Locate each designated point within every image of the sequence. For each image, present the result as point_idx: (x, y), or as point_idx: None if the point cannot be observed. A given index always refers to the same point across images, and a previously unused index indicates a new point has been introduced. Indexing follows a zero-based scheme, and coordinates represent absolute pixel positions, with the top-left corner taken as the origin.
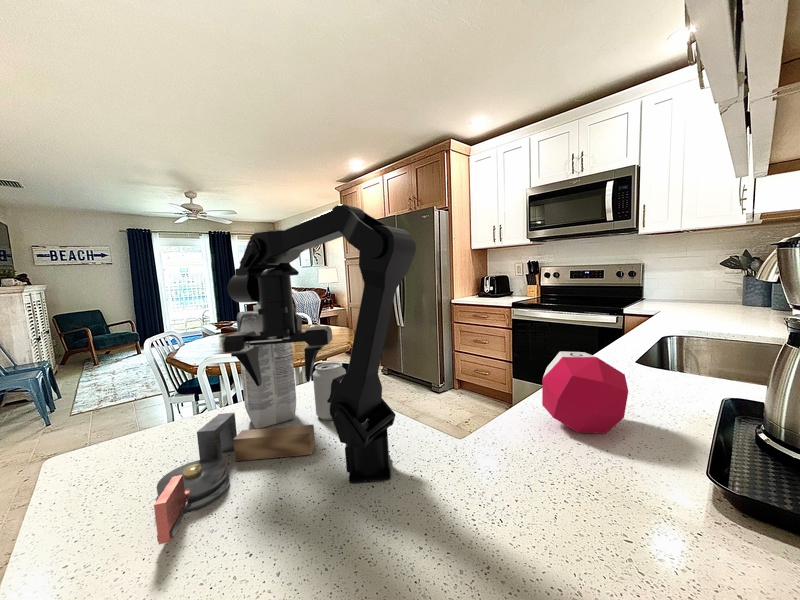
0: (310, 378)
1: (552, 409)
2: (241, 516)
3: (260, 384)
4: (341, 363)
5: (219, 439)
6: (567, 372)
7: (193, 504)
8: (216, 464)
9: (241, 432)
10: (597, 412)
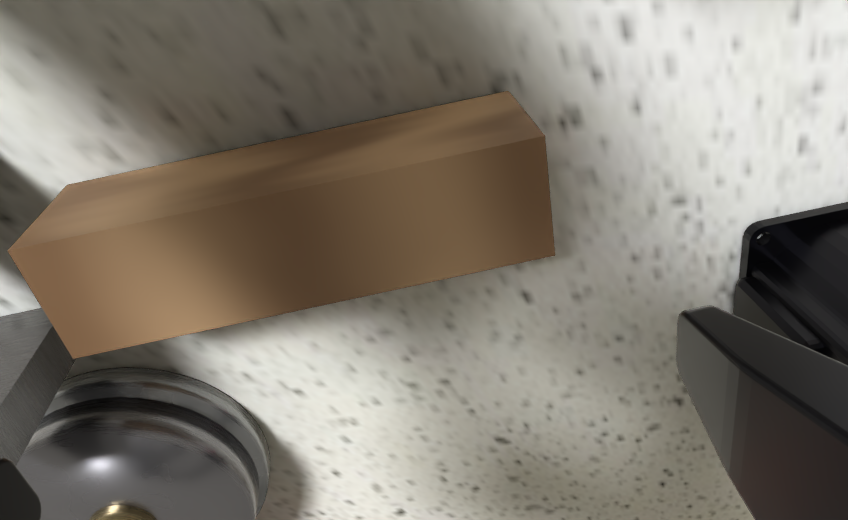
0: (732, 323)
1: None
2: (414, 508)
3: (18, 481)
4: None
5: (8, 408)
6: None
7: None
8: (163, 469)
9: (38, 278)
10: None
